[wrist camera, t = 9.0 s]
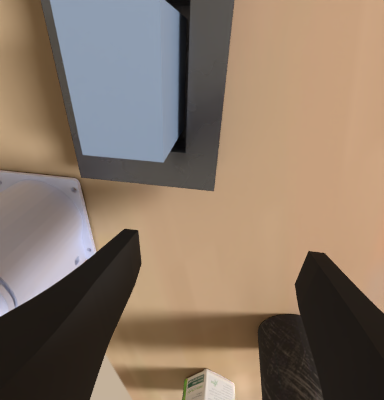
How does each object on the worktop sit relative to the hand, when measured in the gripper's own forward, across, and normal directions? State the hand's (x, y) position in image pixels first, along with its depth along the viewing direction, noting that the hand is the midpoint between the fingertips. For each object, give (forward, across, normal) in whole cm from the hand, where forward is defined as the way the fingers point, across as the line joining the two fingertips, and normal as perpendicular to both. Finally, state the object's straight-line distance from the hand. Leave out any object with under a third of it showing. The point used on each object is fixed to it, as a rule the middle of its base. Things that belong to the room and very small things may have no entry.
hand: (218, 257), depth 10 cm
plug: (+9, +5, -6) cm, 12 cm away
